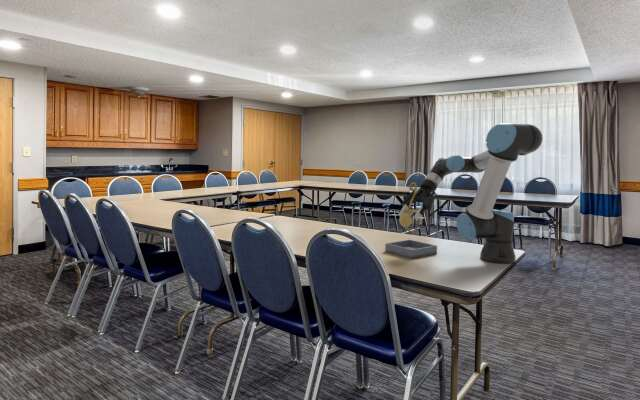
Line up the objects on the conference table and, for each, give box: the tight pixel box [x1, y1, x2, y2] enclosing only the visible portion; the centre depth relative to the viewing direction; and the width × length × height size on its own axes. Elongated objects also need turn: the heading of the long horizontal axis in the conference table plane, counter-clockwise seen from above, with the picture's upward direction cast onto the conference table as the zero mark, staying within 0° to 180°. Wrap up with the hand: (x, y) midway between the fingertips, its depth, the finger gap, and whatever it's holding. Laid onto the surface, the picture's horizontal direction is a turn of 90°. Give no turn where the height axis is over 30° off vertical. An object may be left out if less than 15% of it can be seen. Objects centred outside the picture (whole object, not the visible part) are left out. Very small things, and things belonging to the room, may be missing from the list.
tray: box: [384, 239, 438, 259], centre depth 210 cm, size 17×18×4 cm
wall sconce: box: [398, 181, 426, 233], centre depth 207 cm, size 14×10×25 cm
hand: (407, 217), depth 206 cm, fingers closed on wall sconce, 9 cm apart
